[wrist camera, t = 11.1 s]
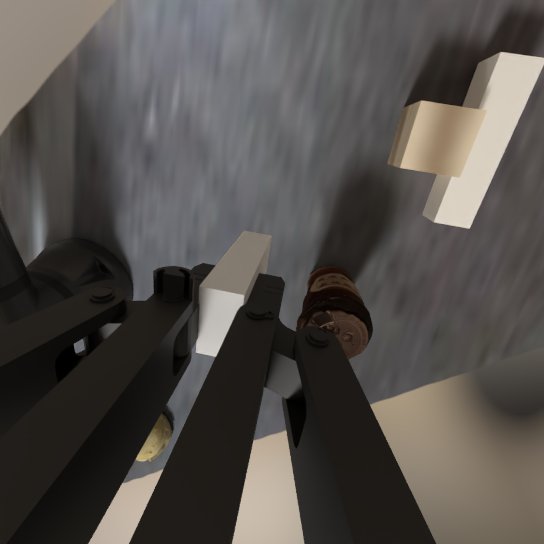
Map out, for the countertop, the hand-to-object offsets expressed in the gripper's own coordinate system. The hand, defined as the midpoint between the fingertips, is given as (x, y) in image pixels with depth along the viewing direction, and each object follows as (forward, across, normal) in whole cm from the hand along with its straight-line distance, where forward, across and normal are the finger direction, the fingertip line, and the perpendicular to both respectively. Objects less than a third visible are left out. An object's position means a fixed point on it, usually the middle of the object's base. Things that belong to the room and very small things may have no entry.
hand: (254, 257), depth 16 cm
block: (+25, +14, +8) cm, 29 cm away
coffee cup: (+25, +8, -12) cm, 29 cm away
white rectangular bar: (+24, +19, +8) cm, 32 cm away
